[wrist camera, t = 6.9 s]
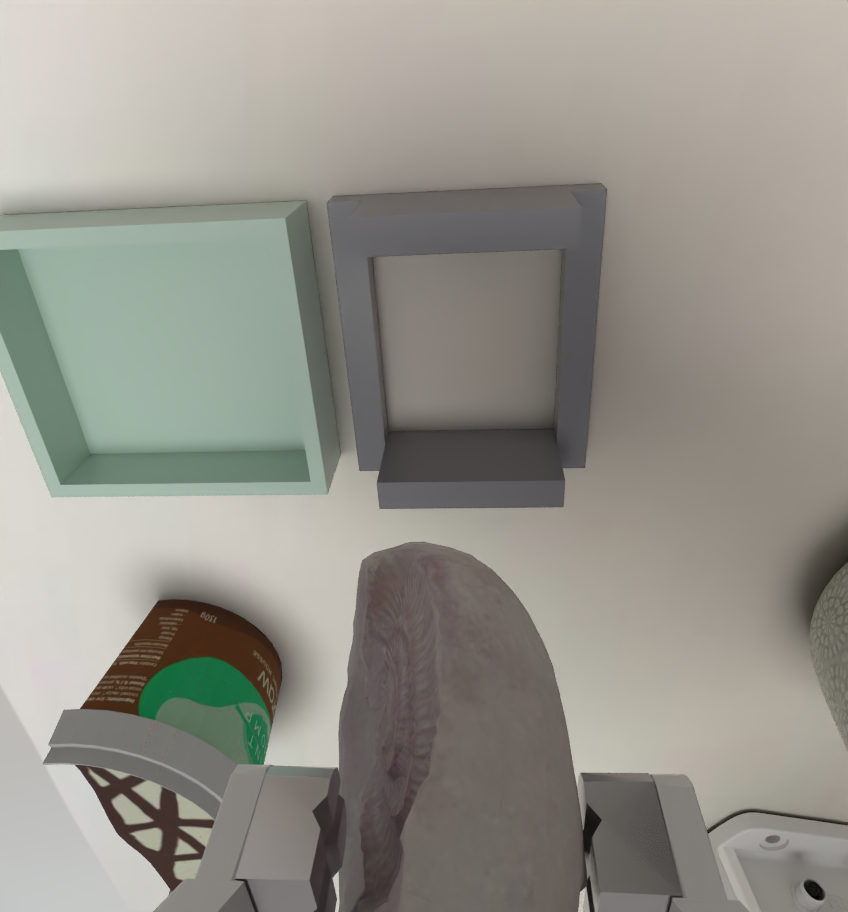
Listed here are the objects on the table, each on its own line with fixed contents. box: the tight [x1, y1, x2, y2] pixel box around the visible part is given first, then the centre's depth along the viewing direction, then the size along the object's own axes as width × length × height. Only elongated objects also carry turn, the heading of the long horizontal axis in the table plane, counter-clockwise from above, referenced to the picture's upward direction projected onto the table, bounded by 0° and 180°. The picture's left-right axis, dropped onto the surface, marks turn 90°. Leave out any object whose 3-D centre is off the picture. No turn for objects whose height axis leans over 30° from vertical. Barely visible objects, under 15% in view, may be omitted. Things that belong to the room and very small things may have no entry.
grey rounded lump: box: [339, 542, 588, 912], centre depth 10 cm, size 6×4×10 cm, turn 159°
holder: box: [327, 184, 607, 509], centre depth 25 cm, size 9×11×4 cm
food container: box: [43, 600, 282, 896], centre depth 32 cm, size 12×6×10 cm, turn 13°
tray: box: [0, 201, 341, 497], centre depth 26 cm, size 12×11×3 cm
